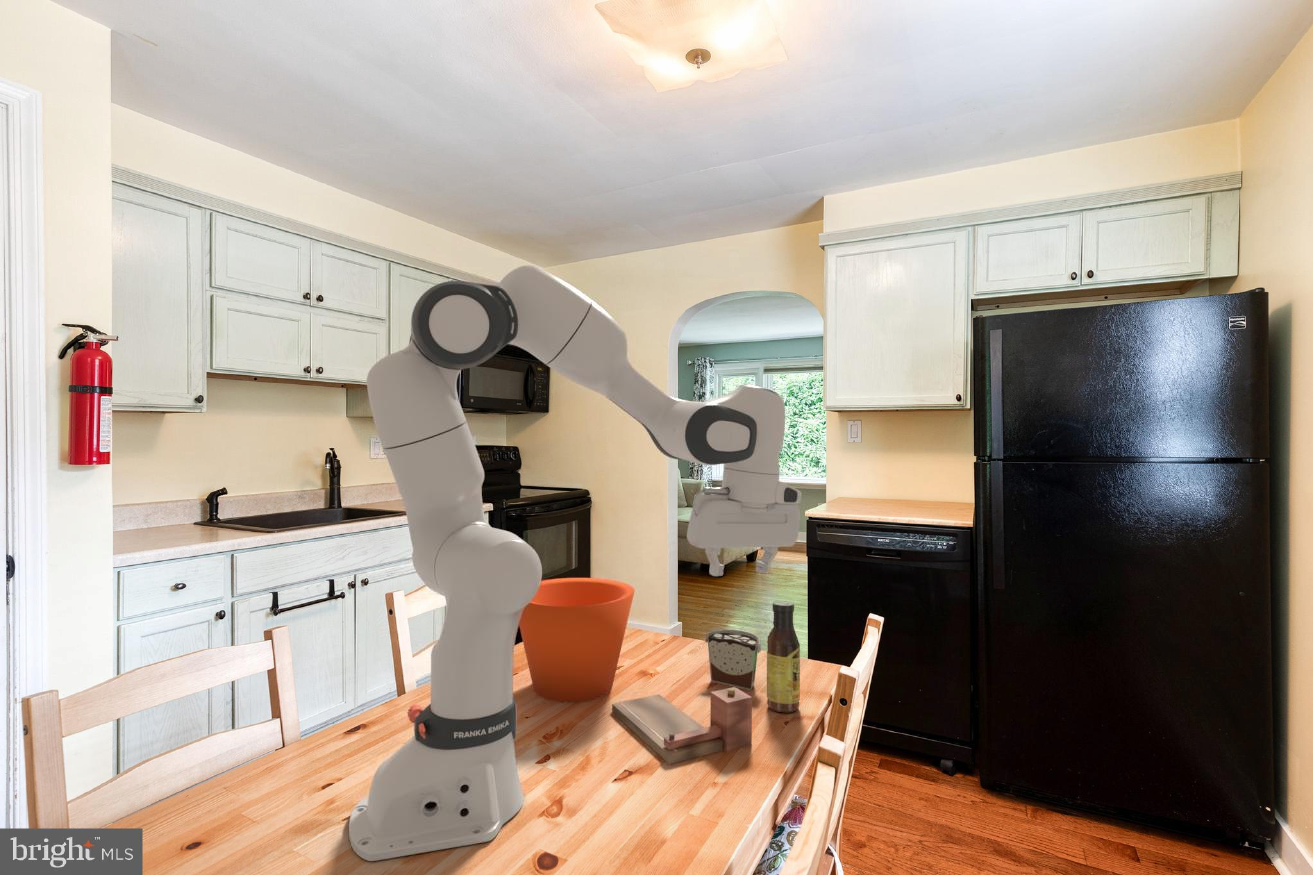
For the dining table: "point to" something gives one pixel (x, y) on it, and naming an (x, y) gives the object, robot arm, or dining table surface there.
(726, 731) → the latch lever with knob
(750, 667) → the food container
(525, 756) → the dining table surface
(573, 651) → the flowerpot
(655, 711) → the plank
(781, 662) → the sauce bottle
